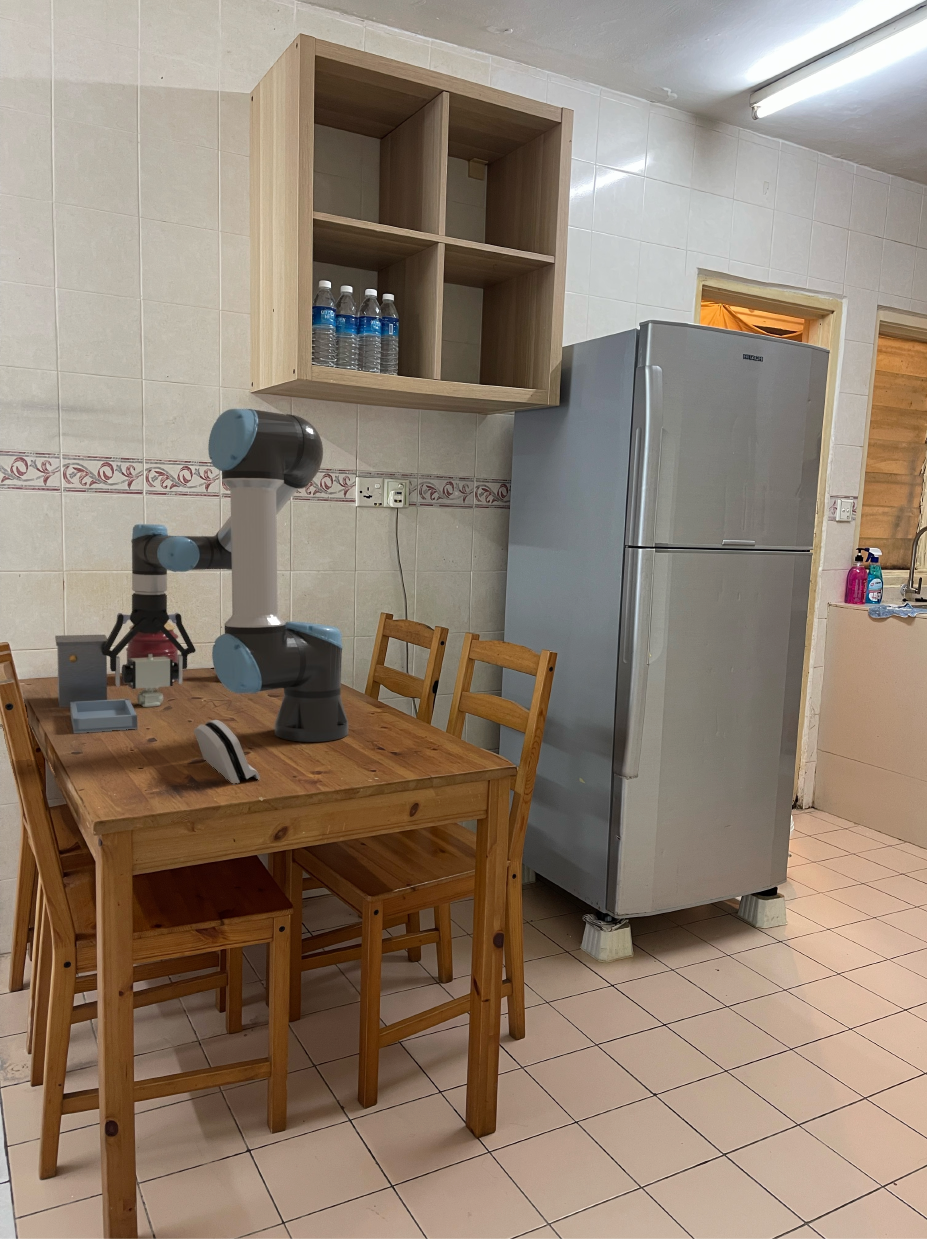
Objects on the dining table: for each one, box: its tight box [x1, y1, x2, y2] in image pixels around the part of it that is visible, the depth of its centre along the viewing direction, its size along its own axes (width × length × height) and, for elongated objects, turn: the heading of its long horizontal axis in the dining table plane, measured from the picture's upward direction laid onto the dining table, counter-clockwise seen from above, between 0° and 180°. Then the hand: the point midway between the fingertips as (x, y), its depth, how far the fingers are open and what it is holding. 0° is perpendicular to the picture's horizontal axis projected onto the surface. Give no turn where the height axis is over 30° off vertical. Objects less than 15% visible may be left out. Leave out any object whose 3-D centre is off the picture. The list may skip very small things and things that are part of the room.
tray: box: [69, 698, 138, 734], centre depth 190 cm, size 17×12×3 cm
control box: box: [54, 634, 108, 708], centre depth 208 cm, size 11×11×15 cm
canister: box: [125, 621, 179, 682], centre depth 235 cm, size 13×13×18 cm
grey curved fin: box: [193, 719, 261, 784], centre depth 159 cm, size 17×5×10 cm, turn 32°
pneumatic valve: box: [121, 654, 179, 708], centre depth 207 cm, size 6×12×12 cm, turn 123°
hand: (149, 684), depth 207 cm, fingers open, 13 cm apart
